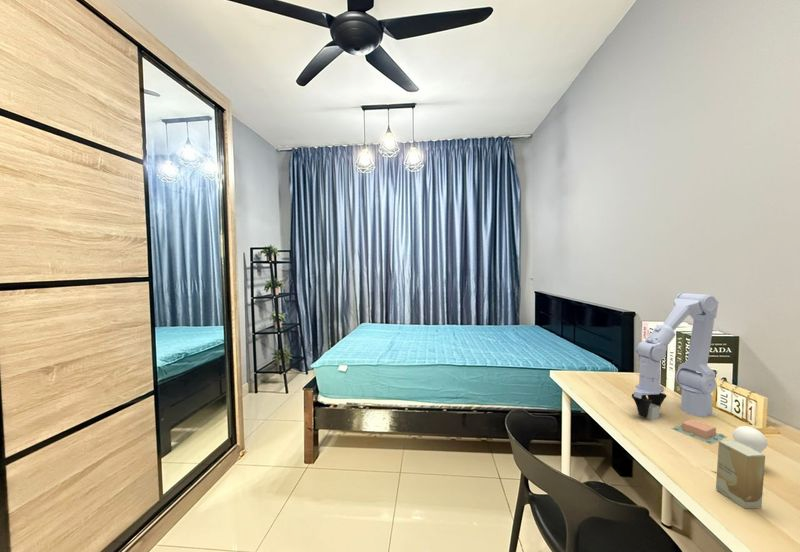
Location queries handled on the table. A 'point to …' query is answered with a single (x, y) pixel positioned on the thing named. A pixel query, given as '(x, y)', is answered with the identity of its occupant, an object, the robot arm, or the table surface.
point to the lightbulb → (750, 438)
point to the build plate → (709, 440)
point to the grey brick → (653, 412)
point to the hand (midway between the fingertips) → (648, 414)
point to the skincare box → (740, 473)
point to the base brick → (699, 429)
